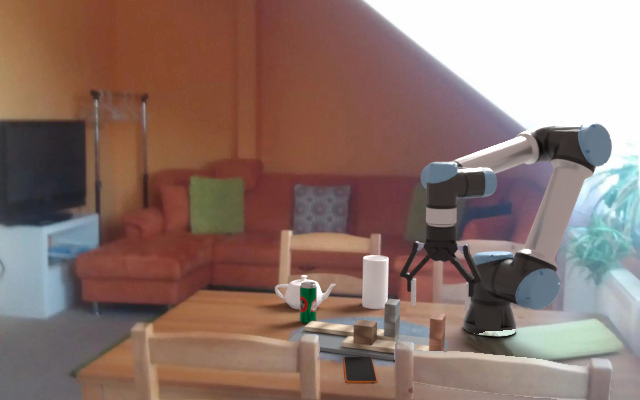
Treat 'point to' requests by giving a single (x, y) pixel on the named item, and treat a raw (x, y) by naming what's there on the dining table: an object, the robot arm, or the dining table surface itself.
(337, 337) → the board
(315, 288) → the soda can
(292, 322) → the dining table surface
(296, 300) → the teapot
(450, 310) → the dining table surface
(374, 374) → the smartphone
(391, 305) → the strip
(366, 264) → the cup
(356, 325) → the block
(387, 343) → the strip
